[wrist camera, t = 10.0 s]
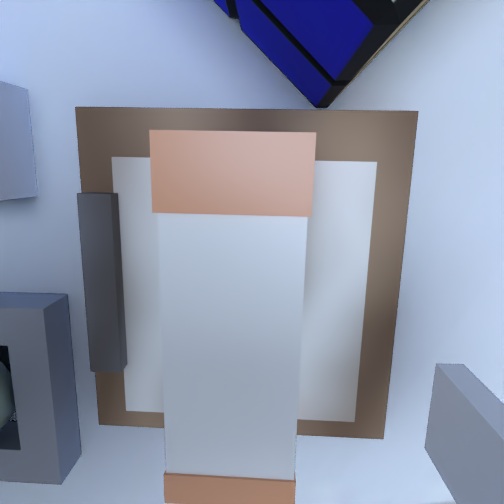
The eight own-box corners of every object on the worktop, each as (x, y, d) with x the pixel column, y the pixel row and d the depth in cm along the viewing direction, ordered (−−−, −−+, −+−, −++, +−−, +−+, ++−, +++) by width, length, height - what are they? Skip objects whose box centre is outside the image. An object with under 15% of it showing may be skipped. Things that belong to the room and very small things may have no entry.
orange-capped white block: (289, 432, 18) (295, 522, 14) (190, 427, 19) (163, 514, 14) (302, 143, 15) (316, 132, 11) (185, 141, 16) (149, 129, 11)
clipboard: (105, 414, 20) (89, 438, 18) (84, 109, 17) (62, 102, 15) (378, 428, 19) (389, 454, 17) (411, 114, 16) (428, 106, 14)
